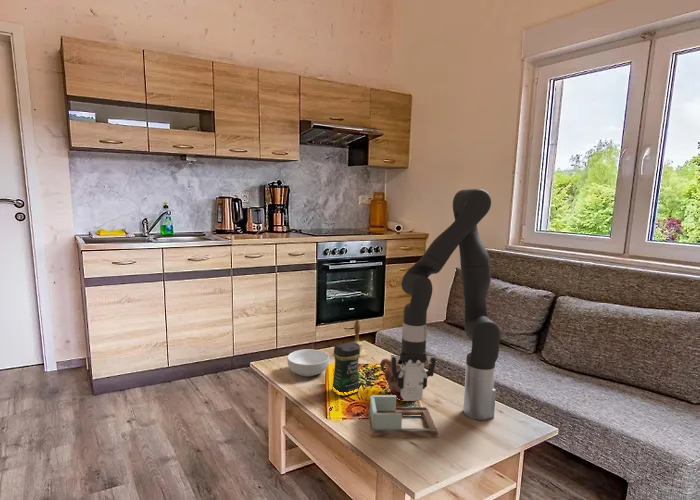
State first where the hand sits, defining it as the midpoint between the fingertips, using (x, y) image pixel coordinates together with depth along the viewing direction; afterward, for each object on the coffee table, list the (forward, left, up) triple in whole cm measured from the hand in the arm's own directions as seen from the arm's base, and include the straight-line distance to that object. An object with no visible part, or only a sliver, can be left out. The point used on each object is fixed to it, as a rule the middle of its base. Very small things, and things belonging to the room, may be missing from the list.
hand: (411, 387), depth 135 cm
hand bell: (+14, -61, -12) cm, 64 cm away
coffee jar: (+20, -23, -12) cm, 33 cm away
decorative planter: (0, -20, -12) cm, 23 cm away
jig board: (+3, 0, -12) cm, 13 cm away
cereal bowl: (+35, -40, -13) cm, 55 cm away
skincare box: (0, 0, -3) cm, 3 cm away
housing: (+8, 0, -11) cm, 13 cm away
